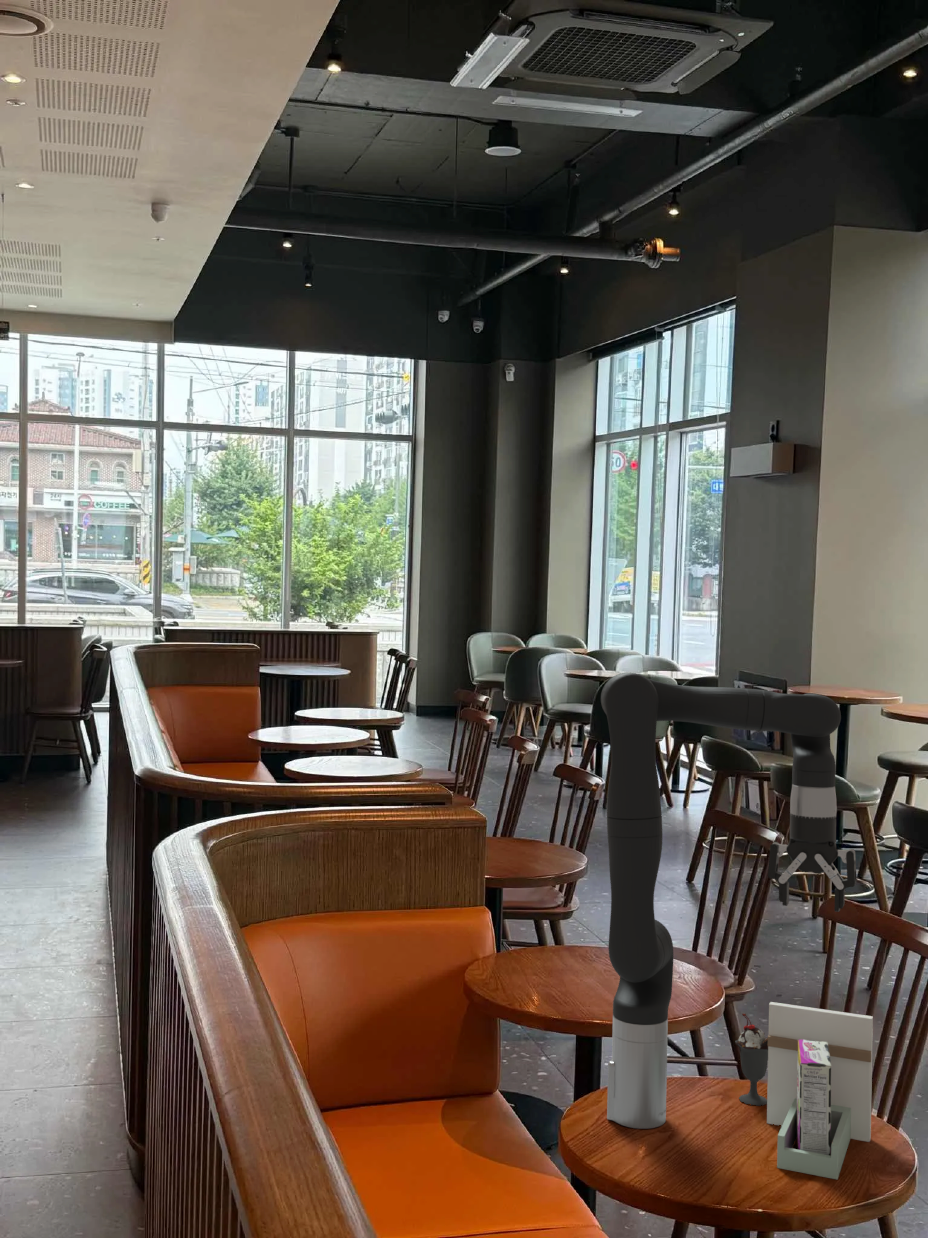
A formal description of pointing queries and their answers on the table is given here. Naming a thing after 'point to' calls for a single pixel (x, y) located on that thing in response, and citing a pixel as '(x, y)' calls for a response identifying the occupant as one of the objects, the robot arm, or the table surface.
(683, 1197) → the table surface
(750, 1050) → the sundae
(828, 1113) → the candy bar box
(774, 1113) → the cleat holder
